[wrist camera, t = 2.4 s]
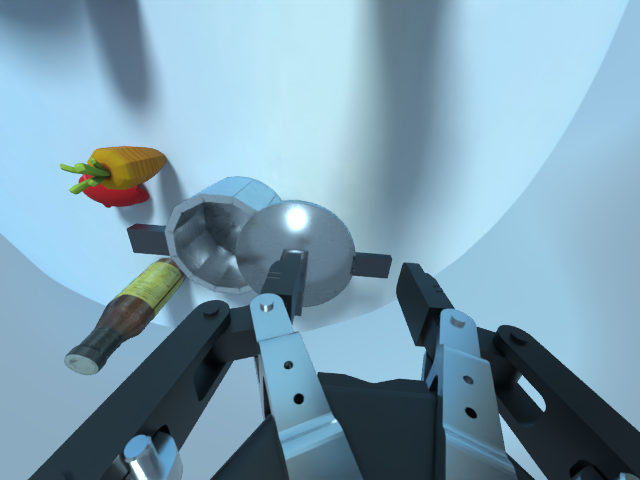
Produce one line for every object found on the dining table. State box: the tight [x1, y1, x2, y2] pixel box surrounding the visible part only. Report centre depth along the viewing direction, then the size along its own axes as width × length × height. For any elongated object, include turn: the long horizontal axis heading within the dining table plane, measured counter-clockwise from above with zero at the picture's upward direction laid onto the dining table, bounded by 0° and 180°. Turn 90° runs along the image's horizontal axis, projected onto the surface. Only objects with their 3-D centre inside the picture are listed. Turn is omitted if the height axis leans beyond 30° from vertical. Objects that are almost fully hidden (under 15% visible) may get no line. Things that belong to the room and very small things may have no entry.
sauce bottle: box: [64, 258, 185, 375], centre depth 39 cm, size 7×6×20 cm
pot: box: [127, 177, 282, 294], centre depth 38 cm, size 30×15×10 cm, turn 85°
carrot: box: [60, 146, 166, 194], centre depth 31 cm, size 5×5×15 cm
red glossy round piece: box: [79, 174, 149, 208], centre depth 38 cm, size 8×6×6 cm
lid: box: [235, 200, 392, 316], centre depth 29 cm, size 20×16×9 cm
